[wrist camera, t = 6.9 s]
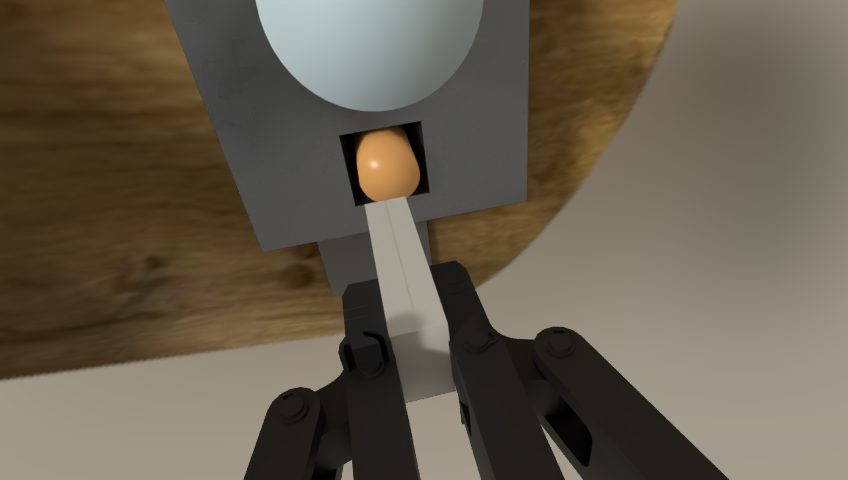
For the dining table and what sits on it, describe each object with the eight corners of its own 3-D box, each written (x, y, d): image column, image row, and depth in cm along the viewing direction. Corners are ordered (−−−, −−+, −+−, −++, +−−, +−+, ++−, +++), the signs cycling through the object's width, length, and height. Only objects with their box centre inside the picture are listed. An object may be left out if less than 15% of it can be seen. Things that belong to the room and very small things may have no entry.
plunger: (357, 157, 27) (365, 208, 22) (347, 110, 25) (353, 154, 21) (405, 148, 27) (423, 197, 23) (398, 101, 26) (416, 143, 21)
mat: (333, 290, 33) (333, 296, 32) (307, 204, 29) (306, 209, 28) (432, 270, 33) (433, 275, 33) (420, 183, 29) (422, 187, 29)
